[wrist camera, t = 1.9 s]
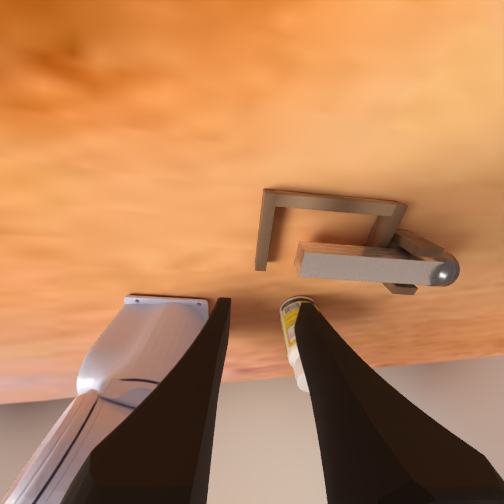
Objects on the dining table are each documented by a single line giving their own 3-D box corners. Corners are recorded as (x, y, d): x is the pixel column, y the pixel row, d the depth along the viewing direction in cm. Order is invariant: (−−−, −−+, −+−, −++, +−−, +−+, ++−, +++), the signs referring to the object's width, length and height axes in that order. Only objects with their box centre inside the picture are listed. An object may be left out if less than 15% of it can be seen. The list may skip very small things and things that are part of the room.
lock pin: (291, 264, 19) (299, 284, 16) (298, 234, 17) (308, 251, 14) (416, 272, 19) (445, 294, 17) (434, 245, 18) (468, 263, 15)
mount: (255, 261, 20) (256, 286, 17) (263, 188, 16) (267, 200, 13) (385, 270, 21) (413, 295, 17) (421, 203, 17) (464, 217, 14)
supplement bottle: (308, 324, 25) (332, 398, 18) (274, 319, 24) (284, 393, 17) (323, 298, 23) (358, 370, 15) (286, 291, 22) (304, 363, 15)
